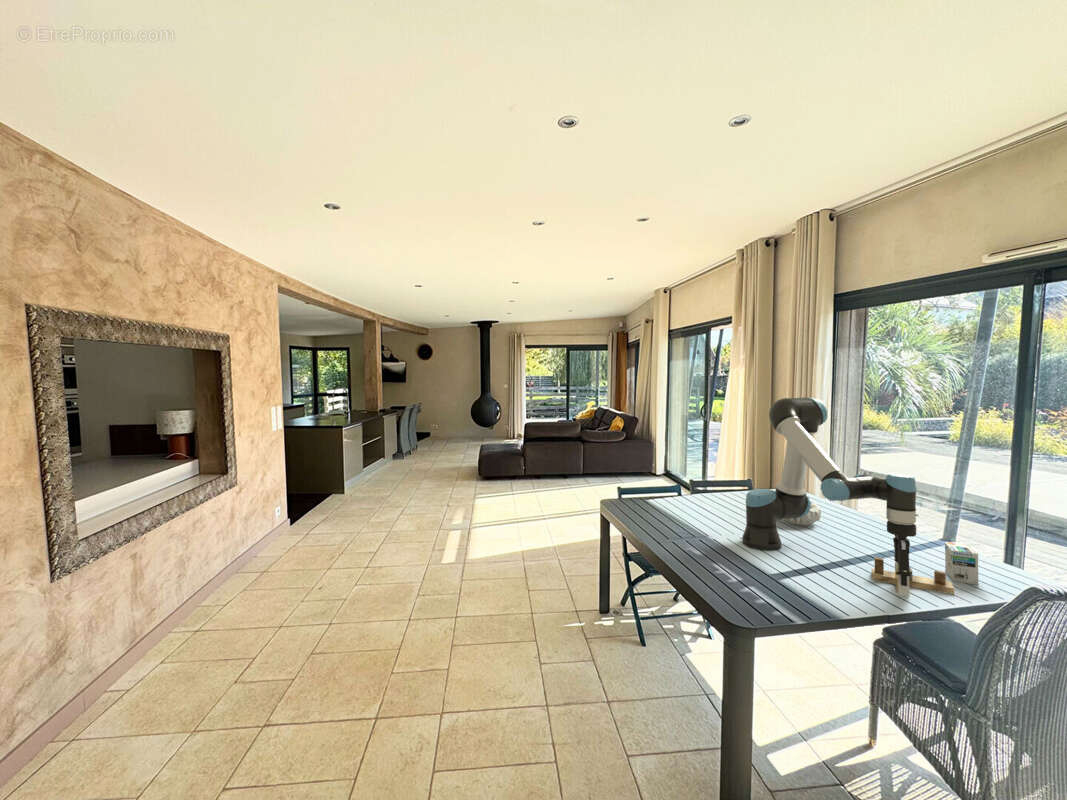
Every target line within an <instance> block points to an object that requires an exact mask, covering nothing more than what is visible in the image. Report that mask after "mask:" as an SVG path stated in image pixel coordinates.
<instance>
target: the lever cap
mask: <svg viewBox="0 0 1067 800" xmlns="http://www.w3.org/2000/svg"><path fill="white" fill-rule="evenodd" d="M894 572H895V584H894V586H895V589H896V593H897V595H899V594H898V574H896V572H899V569H896V568H895V567H894ZM906 572H907V571H906Z"/></svg>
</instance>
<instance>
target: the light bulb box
mask: <svg viewBox="0 0 1067 800" xmlns="http://www.w3.org/2000/svg"><path fill="white" fill-rule="evenodd" d="M944 551H945V552H944V556H945V558H944V561H945V562H944V563H945V568H944V569H945V570H944V572H945V573H946V574H947V575H948V577H950V579H951V581H952V582H957V583H958V582H959V583H964V584H970V585H977V586H979V553H977V552H976V551H975V550H974V549H973V548H972V547H971V546H970V545H969V544H965V543H956V542H949V541H945V542H944Z"/></svg>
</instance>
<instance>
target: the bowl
mask: <svg viewBox="0 0 1067 800" xmlns="http://www.w3.org/2000/svg"><path fill="white" fill-rule="evenodd" d="M821 512H822V511H821V507H820V506H819V505H818V504H817V503H815V502H811V508H810V511H809V512H808V514H807V515H805V516H804V517H799V518H796V519H792V518H791V519H783V521H785V522H787V523H789V524H793V525H796V524H797V526H811V525H812V524H814V523H816V522H820V520H821V518H822V517H821V514H822V513H821Z"/></svg>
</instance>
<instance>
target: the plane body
mask: <svg viewBox="0 0 1067 800" xmlns="http://www.w3.org/2000/svg"><path fill="white" fill-rule="evenodd" d="M884 561H885V560H884V557H879V556H874V568H871V579H872V581H876V582H883V583H889V584H893V585H895V571H888V570H884V568H885V567H884ZM909 571H910V576H909V588H910V587H911V588H915V589H921V590H927V591H932V590H933V592H938V591H941V592H940V593H943V592H946V593H945V594H949V593H952V594H951V595H955V587H954V585H953V584H952V581H949V580H947V572H946V571H941V570H934V571H933V572H934V573H933V575H934V577H933V578H931V577H926V576H919V575H914V574H913V570H912V567H911V566H909Z"/></svg>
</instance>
